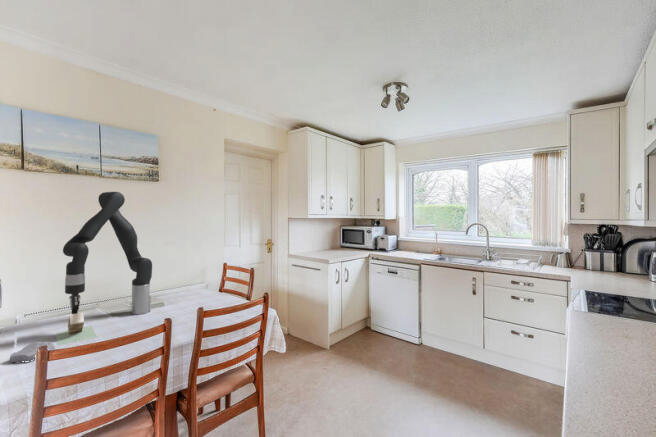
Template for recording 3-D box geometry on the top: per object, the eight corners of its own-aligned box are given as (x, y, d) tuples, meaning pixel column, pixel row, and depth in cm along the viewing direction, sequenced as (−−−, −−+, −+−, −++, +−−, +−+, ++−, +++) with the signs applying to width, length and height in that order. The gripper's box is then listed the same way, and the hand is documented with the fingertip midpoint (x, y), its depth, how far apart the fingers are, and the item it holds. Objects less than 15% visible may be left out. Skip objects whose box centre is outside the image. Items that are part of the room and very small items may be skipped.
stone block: (56, 353, 132) (32, 349, 131) (58, 343, 132) (34, 339, 131) (32, 368, 121) (6, 364, 119) (35, 357, 120) (8, 352, 119)
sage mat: (91, 327, 157) (91, 325, 157) (97, 338, 145) (97, 336, 144) (55, 334, 147) (55, 332, 147) (58, 346, 134) (58, 345, 134)
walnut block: (80, 322, 152) (83, 312, 147) (81, 331, 149) (84, 321, 144) (67, 325, 148) (69, 314, 143) (68, 334, 146) (70, 324, 141)
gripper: (86, 284, 146) (86, 319, 147) (83, 279, 156) (82, 312, 156) (66, 286, 141) (65, 323, 141) (64, 281, 150) (63, 315, 151)
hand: (74, 317), depth 149 cm, fingers closed
